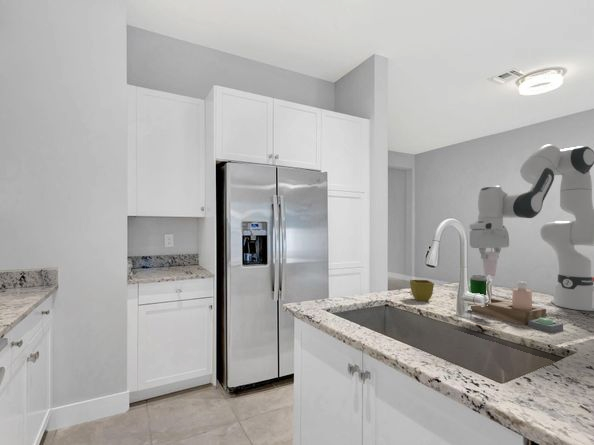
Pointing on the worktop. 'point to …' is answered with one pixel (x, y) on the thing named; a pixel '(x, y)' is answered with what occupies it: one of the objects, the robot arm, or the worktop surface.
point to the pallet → (510, 311)
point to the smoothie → (490, 263)
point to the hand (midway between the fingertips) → (489, 258)
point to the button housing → (546, 326)
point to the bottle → (522, 297)
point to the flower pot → (421, 289)
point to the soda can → (478, 284)
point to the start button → (545, 321)
